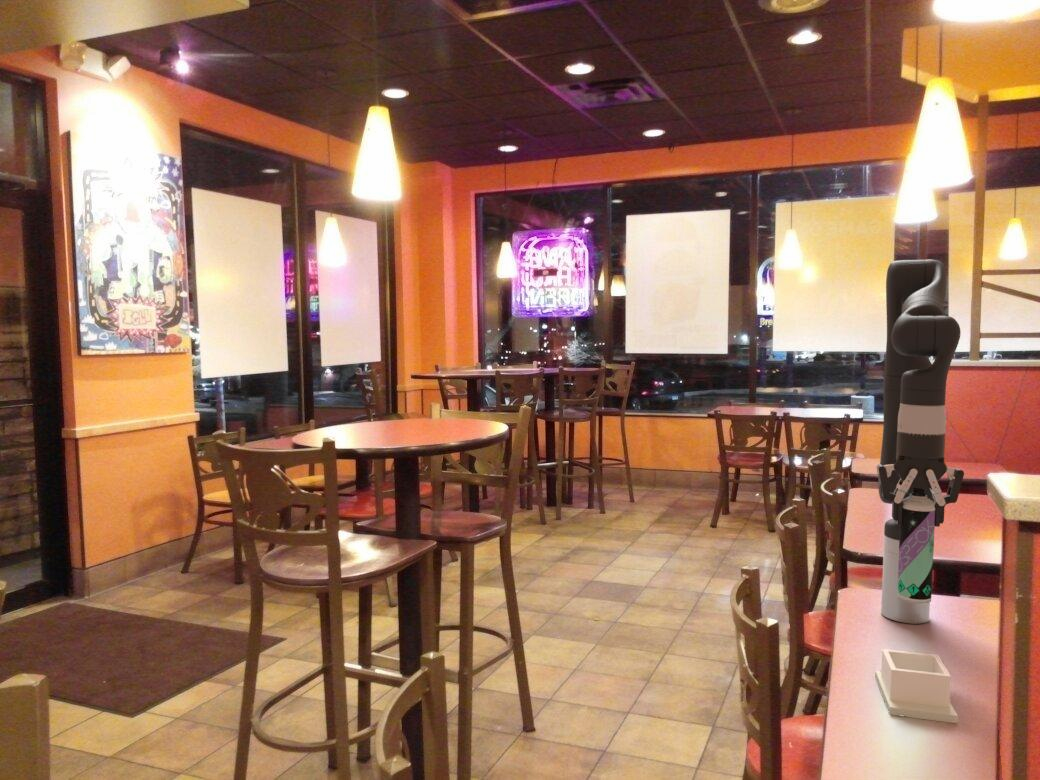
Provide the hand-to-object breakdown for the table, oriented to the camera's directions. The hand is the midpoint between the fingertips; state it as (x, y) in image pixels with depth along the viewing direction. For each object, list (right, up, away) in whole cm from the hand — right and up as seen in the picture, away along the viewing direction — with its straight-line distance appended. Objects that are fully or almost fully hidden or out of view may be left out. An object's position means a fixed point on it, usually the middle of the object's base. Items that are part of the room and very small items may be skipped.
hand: (917, 524), depth 138 cm
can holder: (-6, -27, -10) cm, 29 cm away
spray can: (0, -14, +1) cm, 14 cm away
